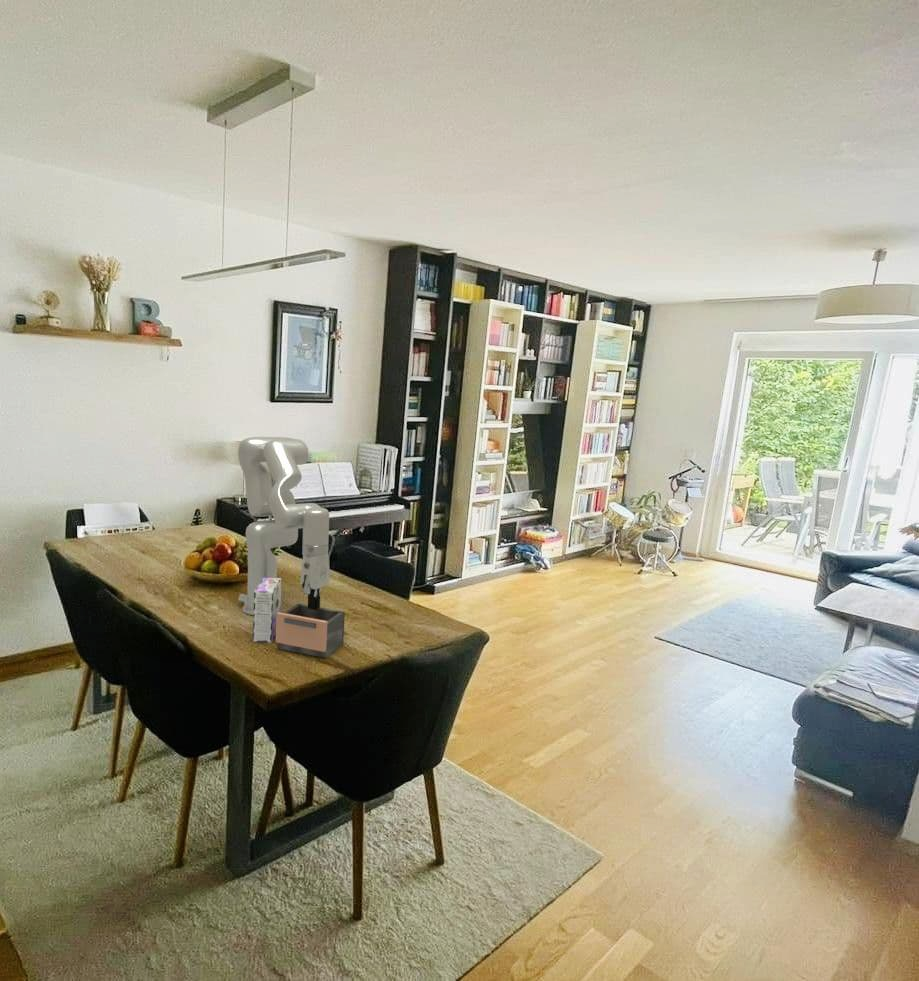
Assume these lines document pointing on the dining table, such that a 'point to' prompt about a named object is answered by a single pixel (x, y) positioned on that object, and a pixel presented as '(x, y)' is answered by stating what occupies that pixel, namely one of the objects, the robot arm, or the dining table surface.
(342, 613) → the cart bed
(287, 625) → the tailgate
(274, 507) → the robot arm
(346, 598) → the dining table surface
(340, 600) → the dining table surface
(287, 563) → the dining table surface
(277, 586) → the candy box
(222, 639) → the dining table surface
